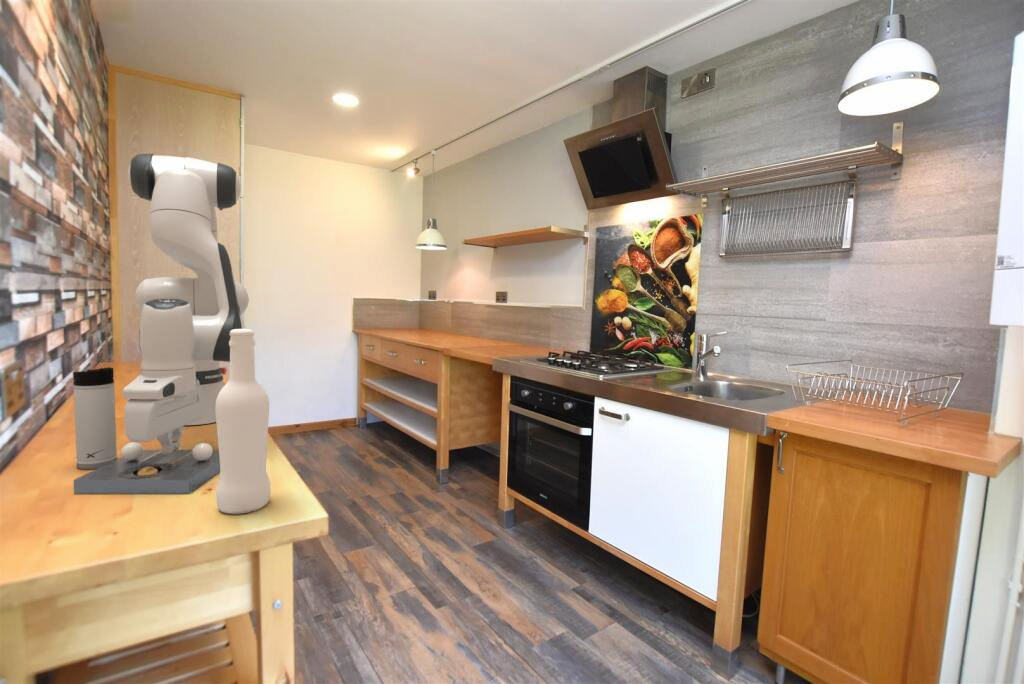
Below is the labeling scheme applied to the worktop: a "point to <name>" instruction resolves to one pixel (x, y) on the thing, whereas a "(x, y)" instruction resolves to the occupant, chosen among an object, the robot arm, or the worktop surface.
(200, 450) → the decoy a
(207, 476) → the plate
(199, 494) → the worktop surface
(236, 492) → the bottle
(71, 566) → the worktop surface
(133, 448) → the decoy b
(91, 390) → the travel mug
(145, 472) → the brass ball
